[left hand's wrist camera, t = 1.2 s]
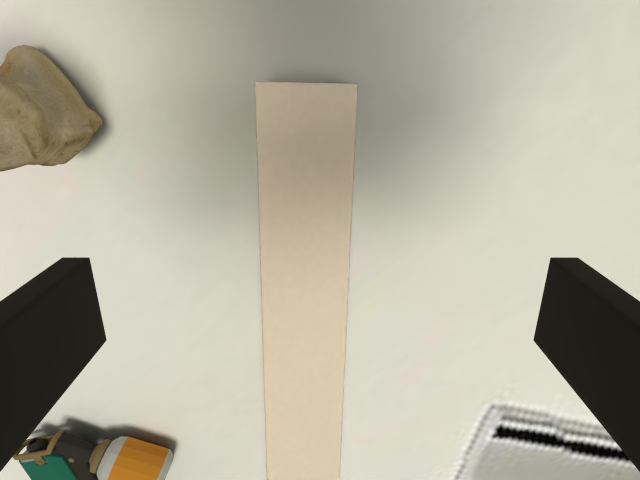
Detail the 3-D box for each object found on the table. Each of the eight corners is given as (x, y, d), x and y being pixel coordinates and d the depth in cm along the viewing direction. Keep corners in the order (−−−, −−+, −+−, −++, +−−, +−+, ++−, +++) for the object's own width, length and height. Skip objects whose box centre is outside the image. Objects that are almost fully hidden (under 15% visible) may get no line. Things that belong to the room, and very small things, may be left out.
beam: (268, 81, 30) (254, 81, 23) (348, 83, 30) (357, 83, 23) (279, 599, 49) (273, 686, 42) (327, 599, 49) (330, 686, 42)
